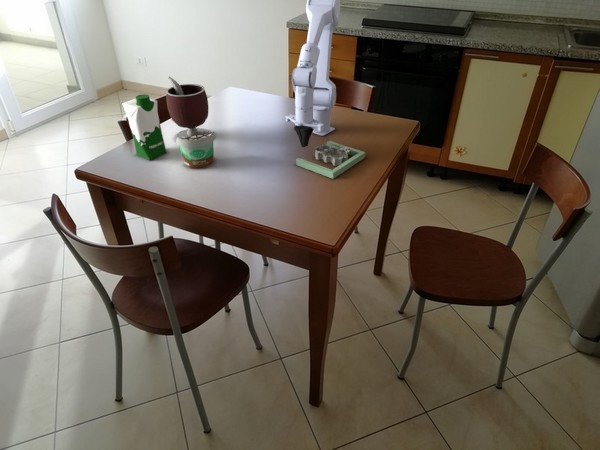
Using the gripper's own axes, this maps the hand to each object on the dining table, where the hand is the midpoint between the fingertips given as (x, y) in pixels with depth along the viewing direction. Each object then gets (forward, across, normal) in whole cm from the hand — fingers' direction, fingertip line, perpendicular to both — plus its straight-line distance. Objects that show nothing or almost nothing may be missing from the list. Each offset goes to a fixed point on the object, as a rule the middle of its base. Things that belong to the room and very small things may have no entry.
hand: (304, 146), depth 142 cm
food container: (+2, -20, -28) cm, 34 cm away
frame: (+2, +10, 0) cm, 11 cm away
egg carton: (+2, +10, +1) cm, 10 cm away
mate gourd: (+2, -41, -15) cm, 43 cm away
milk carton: (+2, -40, -33) cm, 52 cm away
